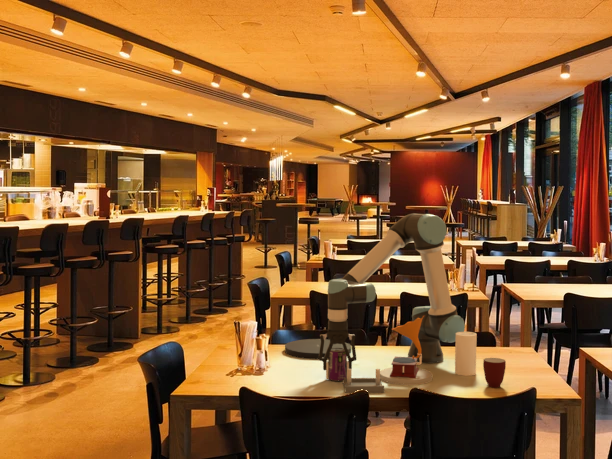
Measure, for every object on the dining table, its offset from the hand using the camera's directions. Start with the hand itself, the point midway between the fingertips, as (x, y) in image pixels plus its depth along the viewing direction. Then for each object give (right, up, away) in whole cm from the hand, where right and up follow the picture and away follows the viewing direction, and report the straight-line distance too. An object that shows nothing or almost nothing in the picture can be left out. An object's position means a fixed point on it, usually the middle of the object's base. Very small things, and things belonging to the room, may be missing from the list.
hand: (337, 378), depth 296 cm
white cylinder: (+52, 0, +11) cm, 53 cm away
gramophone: (+27, -1, +3) cm, 27 cm away
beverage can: (0, -1, 0) cm, 1 cm away
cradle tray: (+9, -1, -12) cm, 15 cm away
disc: (-7, +2, +50) cm, 50 cm away
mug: (+58, -1, -8) cm, 59 cm away
